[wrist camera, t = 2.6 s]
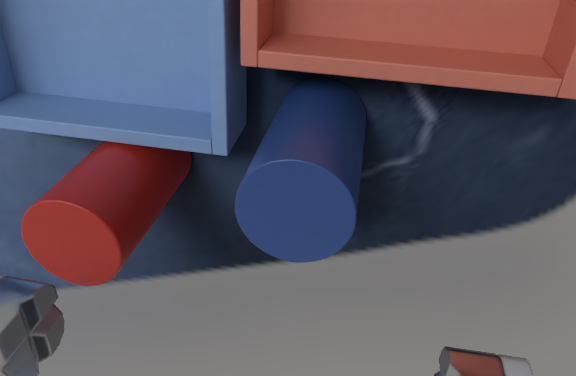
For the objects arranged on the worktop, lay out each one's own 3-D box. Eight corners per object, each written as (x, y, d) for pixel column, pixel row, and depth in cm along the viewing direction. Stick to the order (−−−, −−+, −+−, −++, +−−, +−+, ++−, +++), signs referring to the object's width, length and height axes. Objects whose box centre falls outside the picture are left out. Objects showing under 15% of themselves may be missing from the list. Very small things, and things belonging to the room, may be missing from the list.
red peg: (189, 120, 21) (113, 208, 16) (193, 190, 23) (127, 293, 17) (110, 111, 22) (7, 193, 16) (121, 181, 24) (33, 278, 18)
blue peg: (371, 82, 19) (363, 167, 13) (360, 163, 21) (349, 270, 15) (280, 72, 20) (233, 152, 14) (277, 153, 22) (234, 254, 16)
